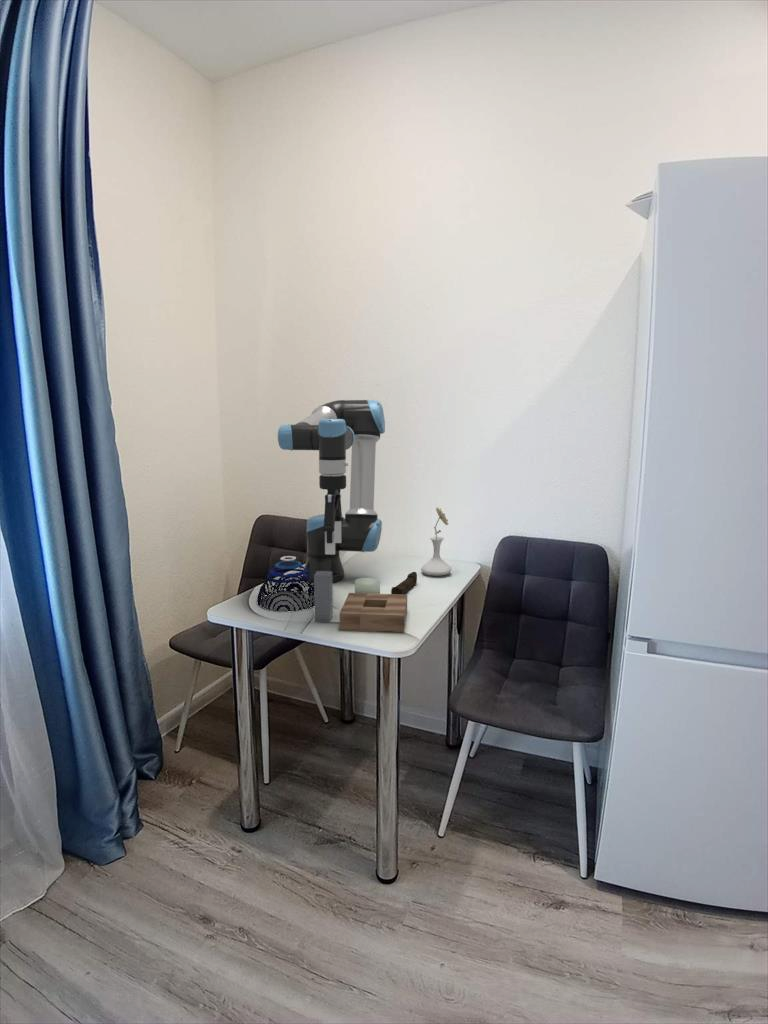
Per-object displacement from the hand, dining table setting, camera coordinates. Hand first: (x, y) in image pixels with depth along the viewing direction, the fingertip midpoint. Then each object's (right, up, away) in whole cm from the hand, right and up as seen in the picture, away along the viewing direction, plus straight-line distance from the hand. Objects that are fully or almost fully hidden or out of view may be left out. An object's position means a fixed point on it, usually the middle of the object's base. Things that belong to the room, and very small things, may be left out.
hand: (333, 548), depth 164 cm
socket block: (+12, -21, +4) cm, 24 cm away
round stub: (+9, -18, +19) cm, 28 cm away
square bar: (-3, -21, +4) cm, 22 cm away
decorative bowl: (-16, -19, +20) cm, 31 cm away
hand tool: (+22, -17, +32) cm, 42 cm away
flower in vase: (+34, -13, +51) cm, 63 cm away
